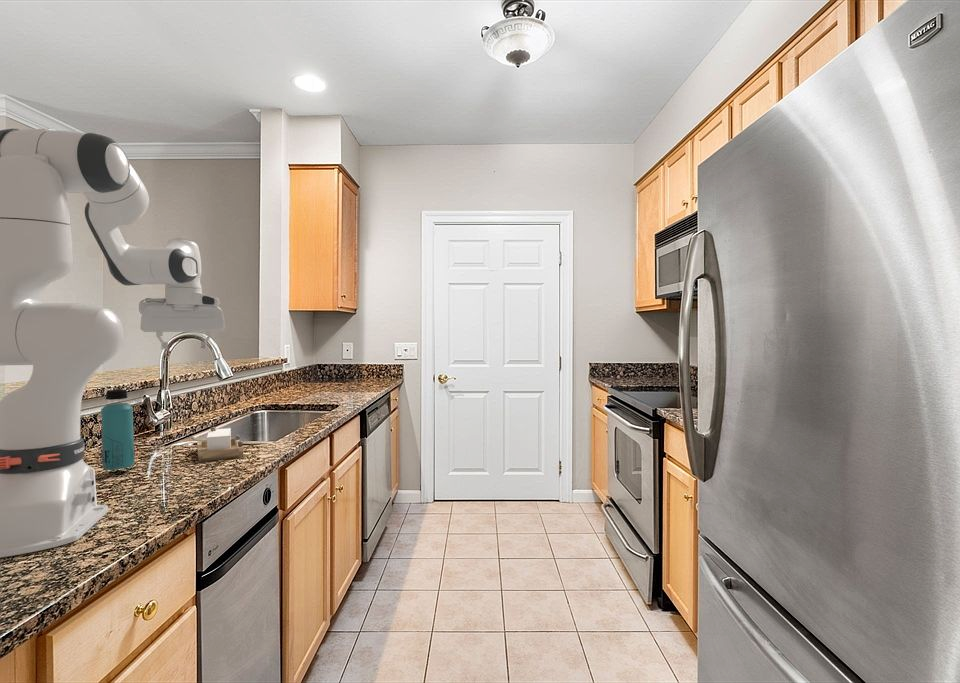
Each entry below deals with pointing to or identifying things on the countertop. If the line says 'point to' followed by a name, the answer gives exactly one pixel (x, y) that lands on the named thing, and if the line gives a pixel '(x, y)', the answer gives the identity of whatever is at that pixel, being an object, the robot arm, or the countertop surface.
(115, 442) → the beverage bottle
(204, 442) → the carcass
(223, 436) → the pale grey squarish block
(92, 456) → the countertop surface
